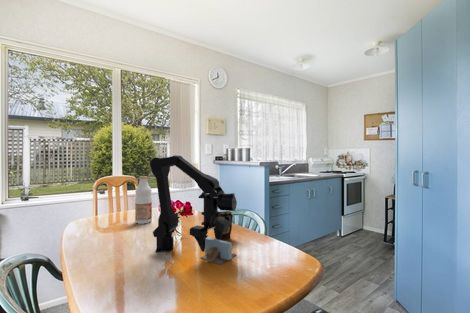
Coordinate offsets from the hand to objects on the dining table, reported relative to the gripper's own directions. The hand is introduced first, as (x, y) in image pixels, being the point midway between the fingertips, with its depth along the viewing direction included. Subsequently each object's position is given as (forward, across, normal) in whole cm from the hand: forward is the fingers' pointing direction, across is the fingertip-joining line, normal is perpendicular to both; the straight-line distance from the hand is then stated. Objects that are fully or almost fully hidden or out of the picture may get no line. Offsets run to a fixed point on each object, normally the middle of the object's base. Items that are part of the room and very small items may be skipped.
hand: (210, 248), depth 99 cm
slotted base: (+3, 0, -4) cm, 5 cm away
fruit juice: (+3, +15, +66) cm, 68 cm away
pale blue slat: (+2, 0, -4) cm, 4 cm away
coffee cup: (+3, +18, +7) cm, 19 cm away
